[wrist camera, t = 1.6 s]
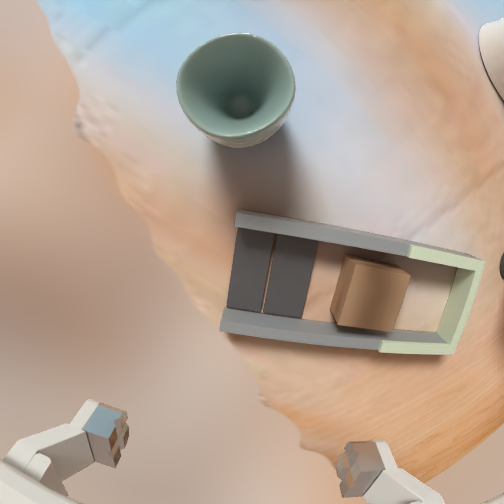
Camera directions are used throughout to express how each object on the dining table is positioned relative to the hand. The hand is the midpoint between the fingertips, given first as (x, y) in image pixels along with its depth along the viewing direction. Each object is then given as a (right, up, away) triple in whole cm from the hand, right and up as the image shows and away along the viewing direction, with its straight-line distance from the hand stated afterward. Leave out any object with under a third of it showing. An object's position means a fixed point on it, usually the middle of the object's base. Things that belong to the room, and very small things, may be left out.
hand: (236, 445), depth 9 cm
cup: (0, +20, +18) cm, 27 cm away
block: (+12, +3, +22) cm, 25 cm away
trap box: (+12, +3, +21) cm, 25 cm away
